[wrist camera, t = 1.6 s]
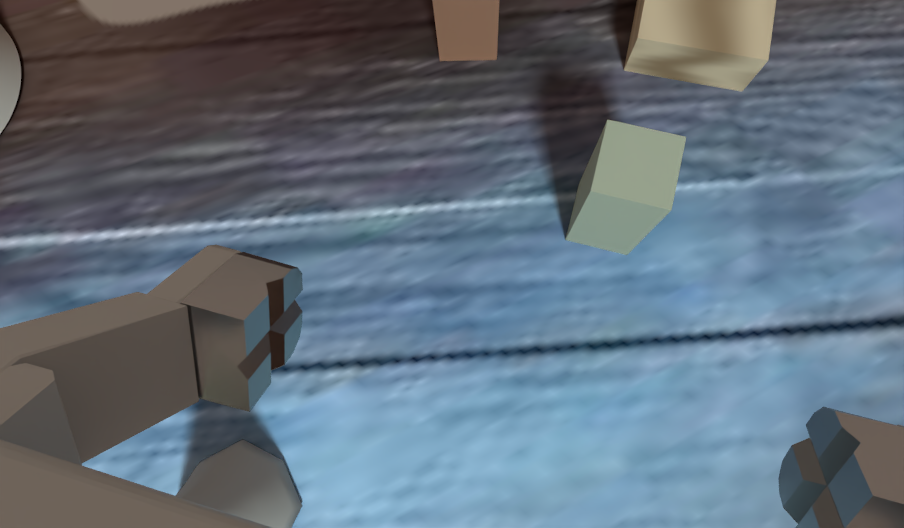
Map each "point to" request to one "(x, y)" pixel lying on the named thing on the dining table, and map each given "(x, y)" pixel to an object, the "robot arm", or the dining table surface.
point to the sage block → (625, 187)
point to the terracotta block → (466, 29)
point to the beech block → (701, 40)
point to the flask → (245, 486)
